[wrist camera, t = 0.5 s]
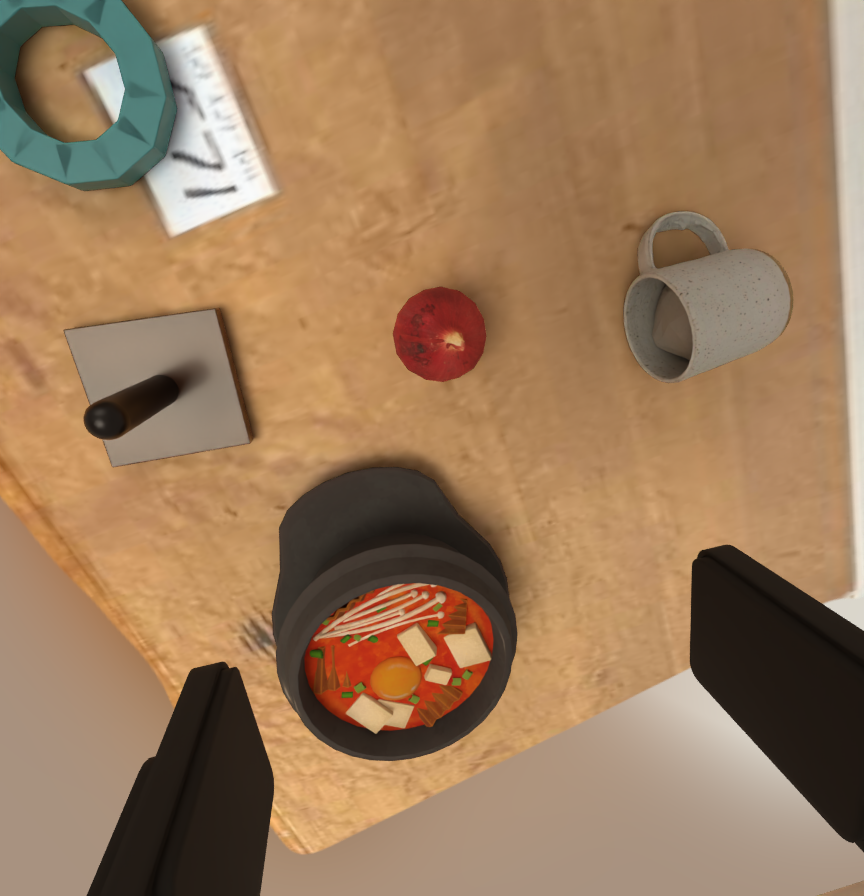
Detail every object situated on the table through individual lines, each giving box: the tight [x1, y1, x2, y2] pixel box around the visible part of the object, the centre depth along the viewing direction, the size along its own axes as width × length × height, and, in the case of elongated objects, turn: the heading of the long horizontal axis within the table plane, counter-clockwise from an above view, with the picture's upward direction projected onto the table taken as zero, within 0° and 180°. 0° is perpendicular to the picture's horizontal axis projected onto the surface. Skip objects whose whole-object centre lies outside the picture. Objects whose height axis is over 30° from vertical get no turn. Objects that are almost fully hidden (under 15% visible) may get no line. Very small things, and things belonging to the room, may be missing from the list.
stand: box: [64, 308, 253, 467], centre depth 29 cm, size 9×9×10 cm
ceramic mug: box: [624, 211, 793, 383], centre depth 34 cm, size 11×8×8 cm
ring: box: [0, 0, 177, 191], centre depth 27 cm, size 10×10×2 cm
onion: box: [393, 287, 486, 382], centre depth 32 cm, size 6×6×8 cm
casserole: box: [272, 467, 517, 761], centre depth 37 cm, size 25×19×8 cm
